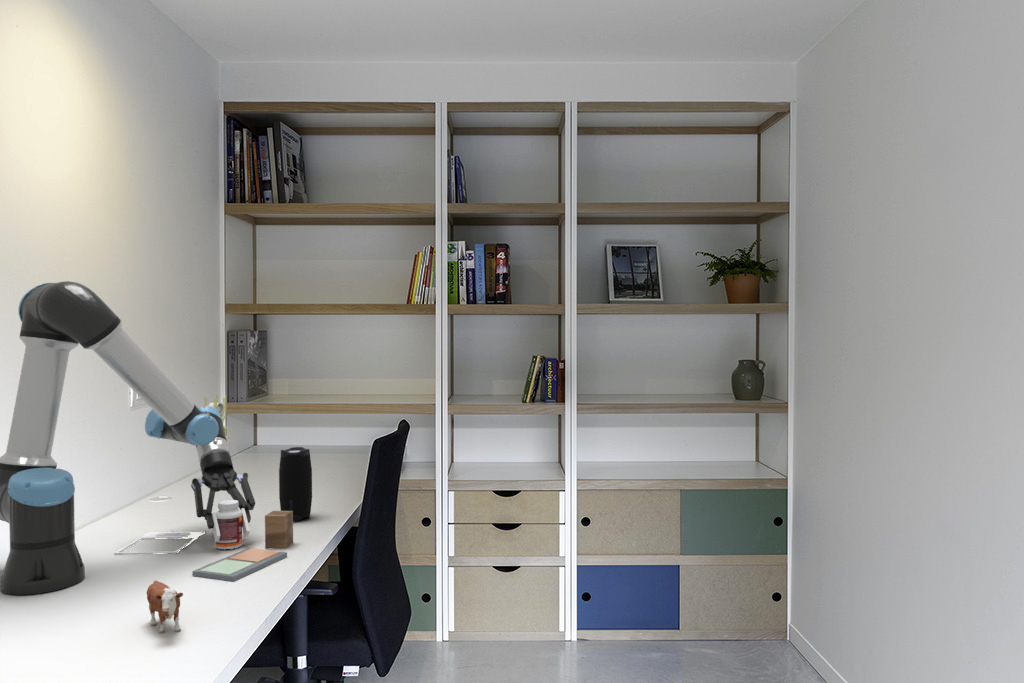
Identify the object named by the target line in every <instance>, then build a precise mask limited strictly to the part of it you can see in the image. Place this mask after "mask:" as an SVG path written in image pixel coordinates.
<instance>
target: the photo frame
mask: <svg viewBox="0 0 1024 683" xmlns="http://www.w3.org/2000/svg"><path fill="white" fill-rule="evenodd" d="M190 532H191V531H147V533H145V534H143V535H141V536H140V537H139V538H137V539H135V540H134V541H132V542H130V543H128V544H127V545H125V546H123V547H122V548H120V549H119V550H116V551H115V552H113V555H114V556H124V555H123V554H152V555H154V554H153V553H177V552H178V551H179V550H181V549H182V548H183V547H185V546H186V545H187V544H188V543H187V542H186V543H185V544H183V545H182V546H181V547H179V548H178V549H177V550H174V551H173V550H172V551H171V550H169V551H167V550H166V551H165V550H164V551H162V550H161V551H126V550H128V549H129V548H131V547H133V546H134V545H136V544H137V543H136V542H138V541H139V540H141V539H155V538H182V537H188V536H189V535H191V534H190ZM201 532H202V533H204V532H205V531H202V530H201ZM193 539H194V538H193ZM141 541H142V540H141ZM139 542H140V541H139ZM139 542H138V543H139ZM188 542H189V543H190V540H189V541H188ZM135 543H136V544H135ZM133 544H134V545H133ZM132 545H133V546H132ZM130 546H131V547H130ZM128 547H129V548H128ZM127 548H128V549H127ZM125 549H126V550H125ZM124 550H125V551H124ZM122 551H123V552H122Z"/></svg>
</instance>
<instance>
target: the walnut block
mask: <svg viewBox="0 0 1024 683" xmlns="http://www.w3.org/2000/svg"><path fill="white" fill-rule="evenodd" d="M264 538H265V544H264V546H265V549H269V548H273V550H274V549H276V550H278V549H280V550H282V549H283V550H285V549H288V547H290V546H291V545H292V544H294V522H293V511H281V510H272V511H270V512H269V513H267V514H266V515H264Z"/></svg>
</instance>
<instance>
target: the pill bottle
mask: <svg viewBox="0 0 1024 683" xmlns="http://www.w3.org/2000/svg"><path fill="white" fill-rule="evenodd" d="M217 508H218V511H216V517H217V522H218V526H219V531H220V539H219V542H215V548H216V549H217V548H218V550H220V549H224V550H223V551H226V550H225V549H230V550H234V548H235V549H238V548H240V547H242V546H243V528H242V512H241V510H240V508H239V502H238V501H237V500H233V499H226V500H221V501H218V503H217ZM238 508H239V509H238Z"/></svg>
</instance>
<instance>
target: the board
mask: <svg viewBox="0 0 1024 683" xmlns="http://www.w3.org/2000/svg"><path fill="white" fill-rule="evenodd" d="M286 558H288V552H287V551H280V550H279V551H277V550H272V549H269V550H268V549H262V548H251V547H248V548H245V549H243V550H240V551H238V552H235V553H233V554H231V555H228V556H226V557H224V558H221V559H219V560H216V561H214V562H212V563H209V564H206V565H204V566H201V567H200V568H197V569H193V570H192V572H191V574H192V575H195V576H194V577H198V576H201V577H200V578H205V577H208V578H207V579H212V578H214V579H213V580H219V579H220V580H221V581H227V582H235V580H236V581H237V580H240V579H242V578H244V577H246V576H248V575H250V574H253V573H255V572H257V571H260V570H261V569H264V568H266V567H268V566H270V565H273V564H275V563H277V562H279V561H281V560H283V559H286ZM220 580H219V581H220Z"/></svg>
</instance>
